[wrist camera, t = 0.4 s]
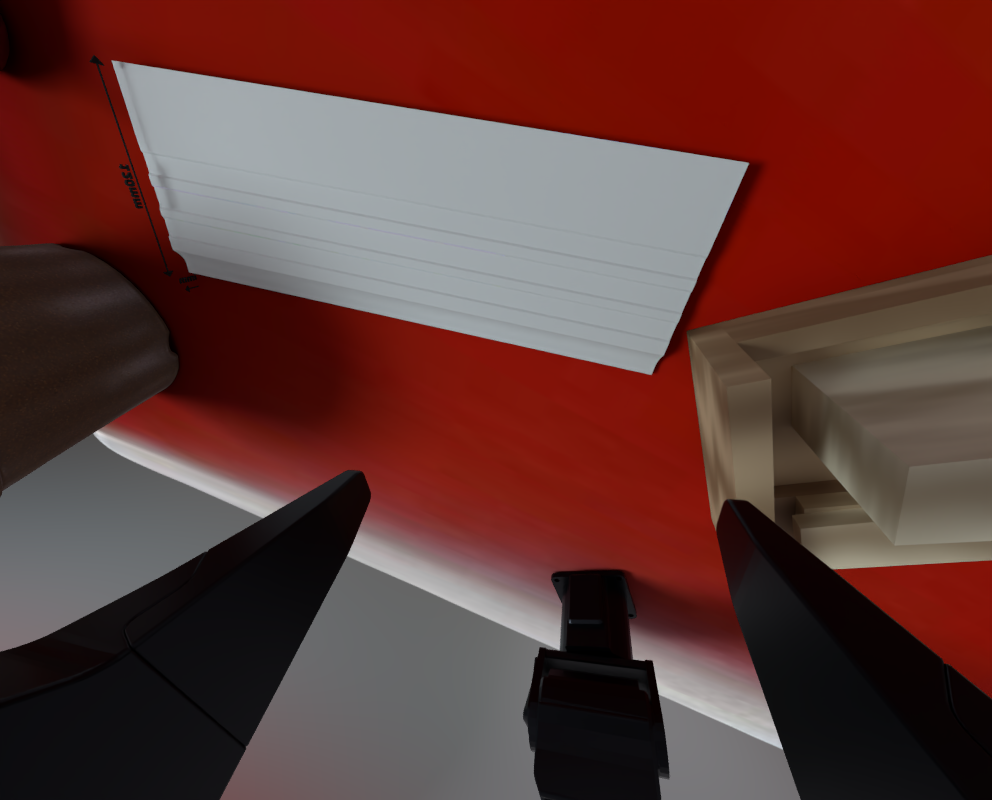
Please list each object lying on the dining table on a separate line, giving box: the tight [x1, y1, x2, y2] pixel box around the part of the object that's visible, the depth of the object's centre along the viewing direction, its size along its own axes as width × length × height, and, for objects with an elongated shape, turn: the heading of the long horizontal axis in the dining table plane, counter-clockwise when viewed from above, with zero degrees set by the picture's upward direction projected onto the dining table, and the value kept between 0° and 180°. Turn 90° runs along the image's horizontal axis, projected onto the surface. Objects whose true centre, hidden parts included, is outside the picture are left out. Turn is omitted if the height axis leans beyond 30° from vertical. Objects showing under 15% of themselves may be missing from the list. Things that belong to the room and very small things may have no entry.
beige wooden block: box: [792, 325, 992, 546], centre depth 14 cm, size 4×10×8 cm, turn 111°
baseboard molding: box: [90, 55, 749, 375], centre depth 20 cm, size 31×3×12 cm
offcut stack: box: [774, 480, 992, 569], centre depth 20 cm, size 4×14×3 cm, turn 111°
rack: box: [687, 255, 992, 529], centre depth 17 cm, size 15×19×6 cm
